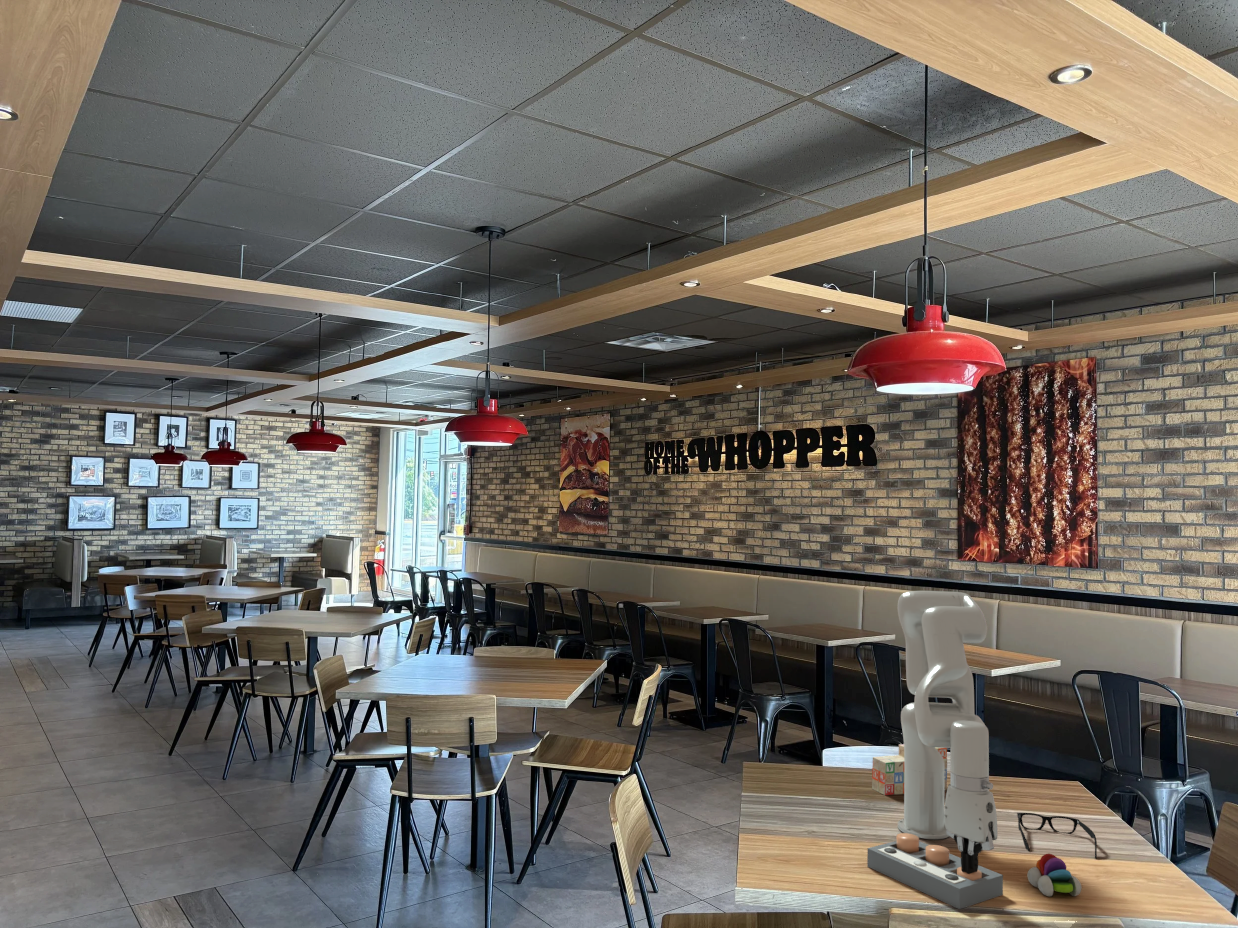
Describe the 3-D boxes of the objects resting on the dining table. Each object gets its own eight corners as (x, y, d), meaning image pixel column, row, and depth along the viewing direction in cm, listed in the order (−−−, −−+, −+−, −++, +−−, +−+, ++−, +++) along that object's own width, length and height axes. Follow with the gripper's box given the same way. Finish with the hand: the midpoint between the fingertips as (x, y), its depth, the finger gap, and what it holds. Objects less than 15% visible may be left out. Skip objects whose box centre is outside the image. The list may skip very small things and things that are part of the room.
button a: (906, 845, 199) (906, 831, 199) (923, 852, 195) (923, 838, 195) (891, 849, 197) (892, 835, 197) (909, 856, 193) (909, 842, 193)
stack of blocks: (884, 796, 245) (885, 751, 246) (871, 789, 251) (871, 745, 252) (947, 789, 252) (947, 746, 253) (933, 783, 258) (933, 741, 259)
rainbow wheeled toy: (1061, 881, 189) (1061, 847, 190) (1086, 901, 180) (1086, 865, 180) (1023, 881, 189) (1023, 847, 189) (1046, 901, 179) (1046, 864, 180)
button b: (935, 857, 192) (935, 843, 193) (954, 865, 188) (954, 850, 188) (920, 861, 190) (920, 847, 190) (939, 869, 186) (939, 854, 186)
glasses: (1082, 838, 219) (1082, 817, 219) (1101, 861, 202) (1101, 838, 202) (1011, 830, 223) (1011, 810, 224) (1024, 852, 206) (1023, 830, 207)
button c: (966, 879, 185) (966, 864, 186) (986, 888, 181) (986, 872, 182) (952, 884, 183) (952, 869, 183) (971, 892, 179) (971, 877, 179)
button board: (909, 854, 202) (909, 835, 202) (1002, 894, 182) (1002, 872, 182) (867, 866, 195) (867, 846, 195) (959, 909, 174) (959, 886, 174)
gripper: (1012, 789, 179) (1013, 880, 178) (950, 770, 192) (950, 855, 190) (989, 794, 175) (989, 888, 174) (928, 774, 188) (928, 862, 187)
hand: (969, 871), depth 182 cm, fingers closed
